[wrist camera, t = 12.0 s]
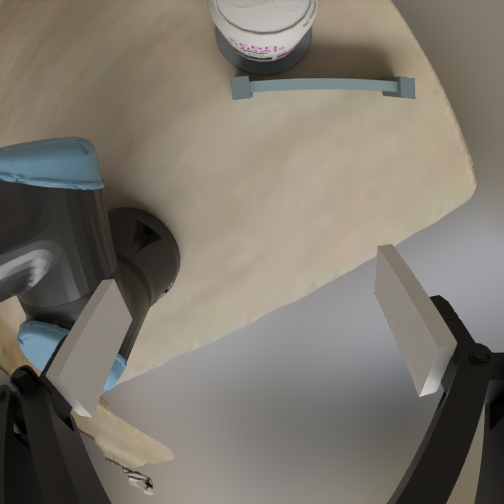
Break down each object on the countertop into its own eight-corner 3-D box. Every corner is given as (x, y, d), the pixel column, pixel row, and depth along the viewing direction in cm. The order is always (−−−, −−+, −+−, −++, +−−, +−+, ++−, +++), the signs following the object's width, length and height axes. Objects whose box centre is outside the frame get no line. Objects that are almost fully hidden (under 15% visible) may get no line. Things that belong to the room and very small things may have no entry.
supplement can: (287, -5, 26) (301, -58, 13) (307, 54, 30) (335, 32, 17) (219, 11, 28) (192, -33, 15) (238, 70, 31) (223, 57, 18)
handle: (237, 98, 34) (232, 99, 29) (235, 79, 32) (230, 77, 28) (396, 96, 32) (415, 98, 27) (395, 78, 31) (414, 78, 26)
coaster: (221, 78, 32) (220, 78, 32) (212, -2, 27) (211, -3, 27) (314, 72, 32) (315, 72, 31) (305, -9, 26) (306, -10, 26)
